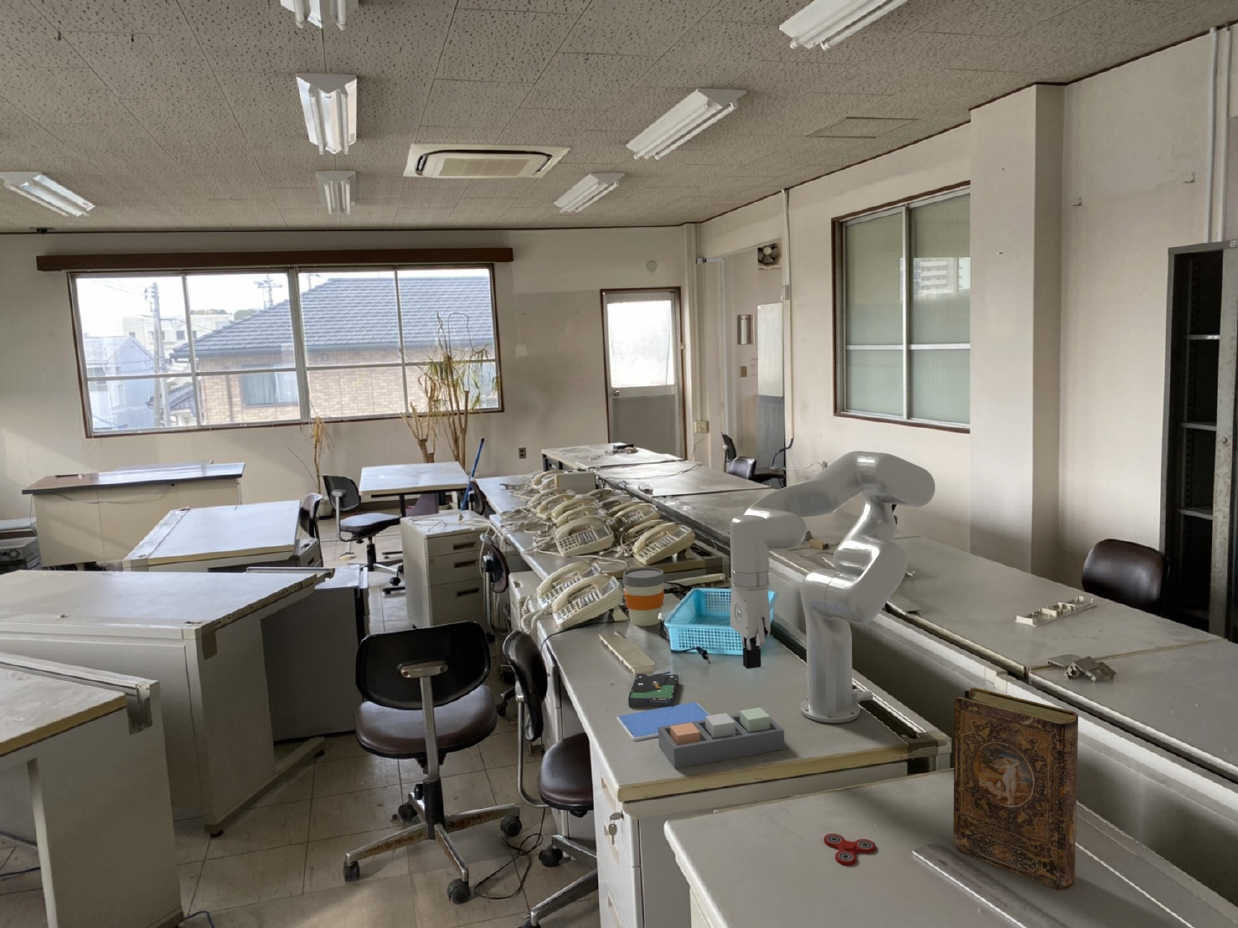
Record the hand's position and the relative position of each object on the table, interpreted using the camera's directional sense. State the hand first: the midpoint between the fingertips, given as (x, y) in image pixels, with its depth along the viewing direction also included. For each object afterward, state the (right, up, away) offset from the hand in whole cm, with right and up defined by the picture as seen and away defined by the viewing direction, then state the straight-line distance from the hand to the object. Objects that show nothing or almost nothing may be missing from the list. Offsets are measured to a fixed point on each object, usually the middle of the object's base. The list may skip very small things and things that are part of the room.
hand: (752, 666), depth 169 cm
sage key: (+1, -12, +2) cm, 13 cm away
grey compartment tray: (-6, -16, 0) cm, 18 cm away
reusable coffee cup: (-19, -7, +84) cm, 86 cm away
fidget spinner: (+10, -21, -36) cm, 43 cm away
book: (+33, -20, -41) cm, 57 cm away
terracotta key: (-14, -14, -2) cm, 20 cm away
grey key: (-6, -13, 0) cm, 14 cm away
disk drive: (-18, -14, +29) cm, 37 cm away
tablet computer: (-17, -16, +14) cm, 27 cm away
